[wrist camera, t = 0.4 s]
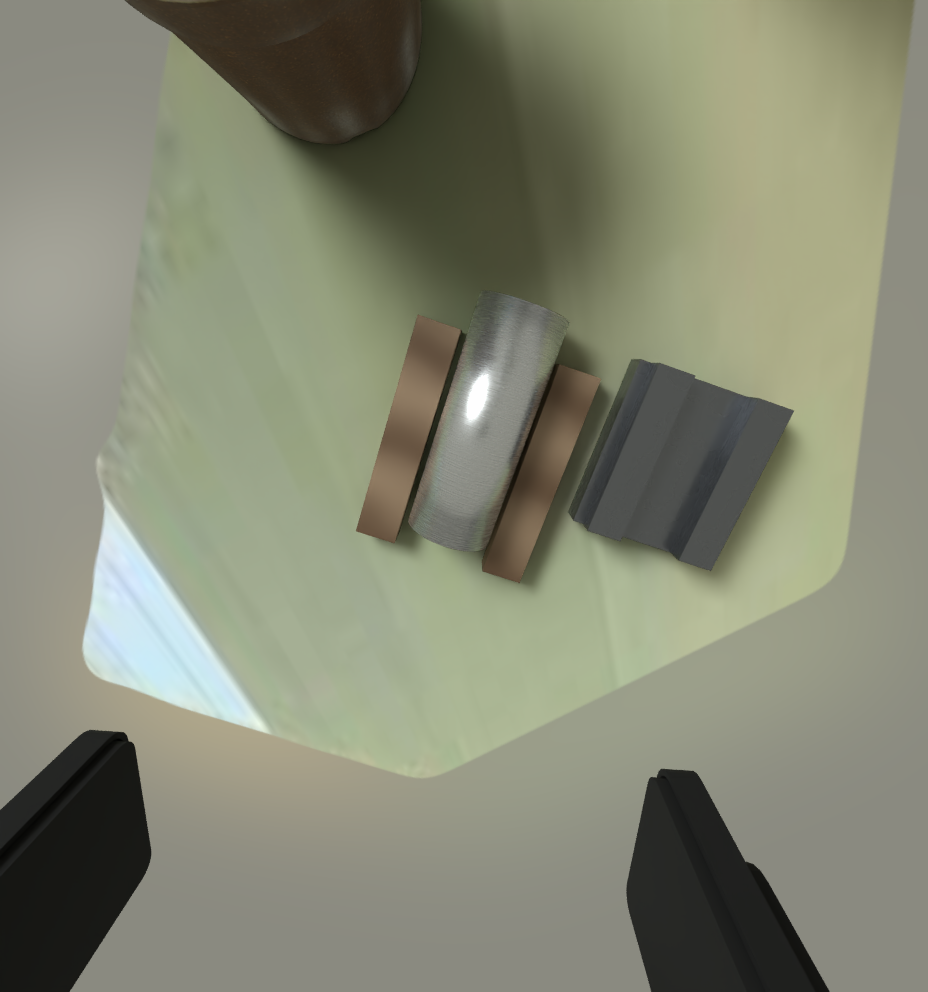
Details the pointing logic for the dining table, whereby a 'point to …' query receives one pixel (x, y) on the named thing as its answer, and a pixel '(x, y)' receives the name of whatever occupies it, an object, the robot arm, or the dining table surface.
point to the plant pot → (304, 57)
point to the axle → (486, 419)
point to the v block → (676, 462)
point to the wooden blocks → (534, 471)
